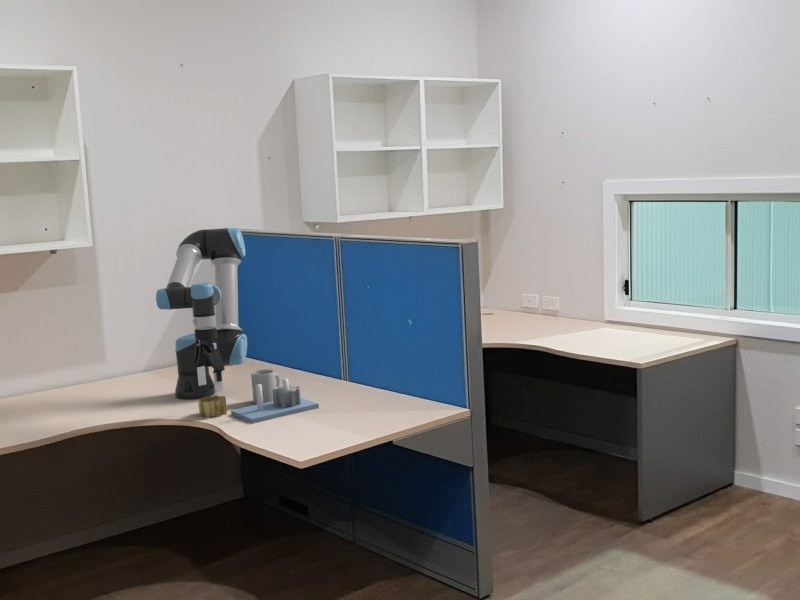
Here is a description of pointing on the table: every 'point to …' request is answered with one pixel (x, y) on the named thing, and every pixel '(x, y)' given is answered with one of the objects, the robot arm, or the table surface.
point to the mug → (265, 384)
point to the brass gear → (212, 406)
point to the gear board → (275, 404)
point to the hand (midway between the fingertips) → (210, 387)
